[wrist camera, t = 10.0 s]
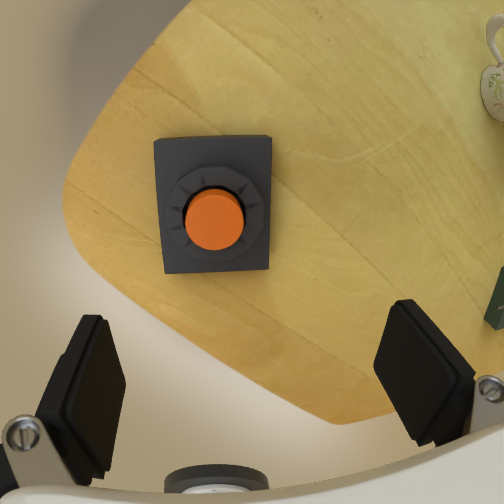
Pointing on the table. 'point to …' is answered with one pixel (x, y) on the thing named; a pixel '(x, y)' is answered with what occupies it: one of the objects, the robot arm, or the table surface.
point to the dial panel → (497, 305)
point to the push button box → (214, 177)
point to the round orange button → (214, 219)
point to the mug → (494, 73)
